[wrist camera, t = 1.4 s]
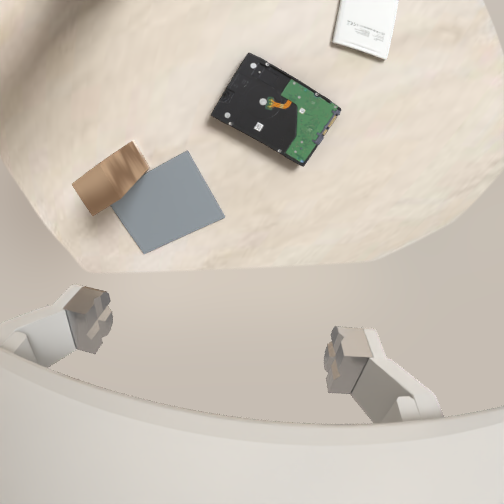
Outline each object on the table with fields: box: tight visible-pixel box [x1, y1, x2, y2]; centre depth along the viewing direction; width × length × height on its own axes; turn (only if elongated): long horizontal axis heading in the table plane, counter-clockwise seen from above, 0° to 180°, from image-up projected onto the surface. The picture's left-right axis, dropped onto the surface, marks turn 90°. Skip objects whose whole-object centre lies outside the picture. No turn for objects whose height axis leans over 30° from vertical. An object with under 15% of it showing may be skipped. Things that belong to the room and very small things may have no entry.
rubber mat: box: [111, 151, 225, 254], centre depth 47 cm, size 12×16×1 cm
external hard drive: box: [332, 0, 399, 60], centre depth 31 cm, size 2×8×12 cm
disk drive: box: [211, 53, 341, 166], centre depth 39 cm, size 10×3×15 cm
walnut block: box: [72, 140, 150, 216], centre depth 38 cm, size 5×5×12 cm
